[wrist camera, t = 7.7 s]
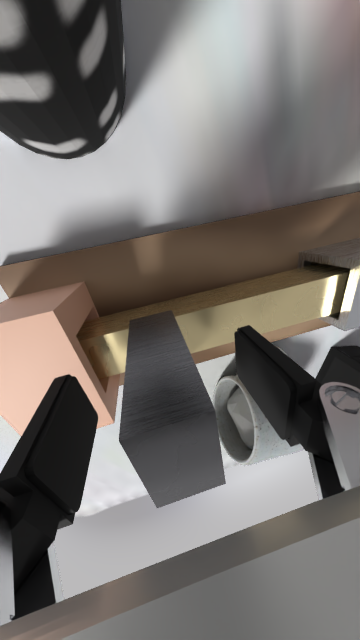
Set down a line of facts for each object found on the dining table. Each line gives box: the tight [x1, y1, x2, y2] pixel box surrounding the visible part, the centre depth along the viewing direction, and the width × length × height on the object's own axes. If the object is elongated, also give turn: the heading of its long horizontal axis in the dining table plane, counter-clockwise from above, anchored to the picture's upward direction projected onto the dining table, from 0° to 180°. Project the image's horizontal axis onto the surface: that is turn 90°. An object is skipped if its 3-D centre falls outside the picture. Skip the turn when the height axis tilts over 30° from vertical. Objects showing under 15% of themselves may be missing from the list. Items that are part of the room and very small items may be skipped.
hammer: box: [76, 263, 351, 508], centre depth 10 cm, size 4×22×10 cm, turn 101°
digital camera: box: [316, 346, 360, 389], centre depth 23 cm, size 10×5×7 cm, turn 175°
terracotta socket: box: [0, 282, 120, 436], centre depth 12 cm, size 8×5×6 cm, turn 11°
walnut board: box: [0, 191, 360, 386], centre depth 17 cm, size 12×37×1 cm, turn 101°
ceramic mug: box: [213, 346, 304, 465], centre depth 19 cm, size 11×8×8 cm
